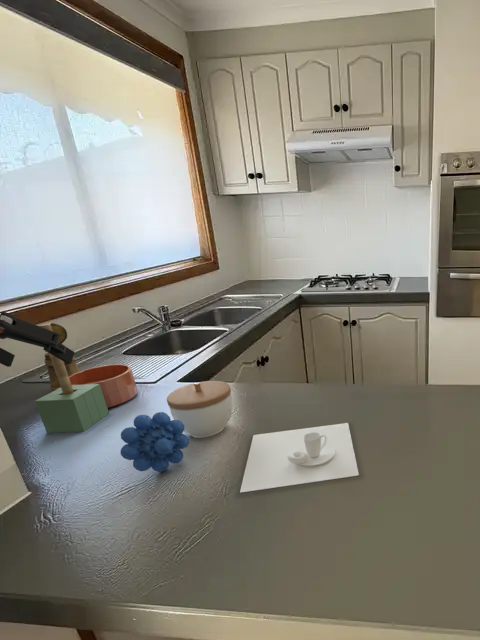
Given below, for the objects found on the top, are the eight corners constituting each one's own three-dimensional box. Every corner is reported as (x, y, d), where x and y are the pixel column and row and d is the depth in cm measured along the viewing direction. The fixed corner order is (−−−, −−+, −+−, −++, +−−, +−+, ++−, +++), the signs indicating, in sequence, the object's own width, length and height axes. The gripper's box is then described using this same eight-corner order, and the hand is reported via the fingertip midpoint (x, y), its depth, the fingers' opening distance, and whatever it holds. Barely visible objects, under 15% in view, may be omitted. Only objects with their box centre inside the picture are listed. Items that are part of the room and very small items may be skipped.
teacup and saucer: (288, 471, 75) (284, 451, 74) (289, 448, 82) (286, 430, 81) (337, 464, 76) (334, 444, 75) (334, 442, 83) (332, 424, 82)
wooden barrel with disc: (88, 376, 132) (70, 320, 126) (87, 389, 121) (67, 328, 115) (54, 383, 128) (33, 325, 122) (50, 397, 117) (27, 334, 111)
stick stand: (46, 433, 96) (34, 401, 93) (74, 415, 105) (64, 385, 102) (84, 431, 96) (72, 399, 93) (109, 413, 104) (99, 383, 101)
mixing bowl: (57, 414, 106) (46, 387, 103) (97, 390, 120) (89, 365, 117) (115, 412, 105) (107, 384, 102) (149, 387, 119) (142, 362, 116)
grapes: (143, 495, 71) (123, 432, 67) (125, 482, 75) (105, 422, 71) (205, 462, 80) (191, 405, 75) (186, 452, 84) (172, 397, 79)
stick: (72, 425, 99) (36, 326, 91) (78, 421, 101) (43, 323, 93) (80, 424, 99) (45, 325, 91) (86, 420, 101) (52, 323, 93)
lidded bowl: (237, 412, 100) (228, 368, 96) (238, 436, 88) (228, 388, 84) (179, 423, 96) (168, 378, 92) (173, 450, 85) (160, 400, 81)
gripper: (17, 281, 72) (101, 341, 91) (-118, 290, 73) (-8, 346, 93) (1, 319, 69) (91, 372, 88) (-139, 327, 70) (-20, 378, 90)
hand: (41, 359), depth 90 cm, fingers open, 13 cm apart
